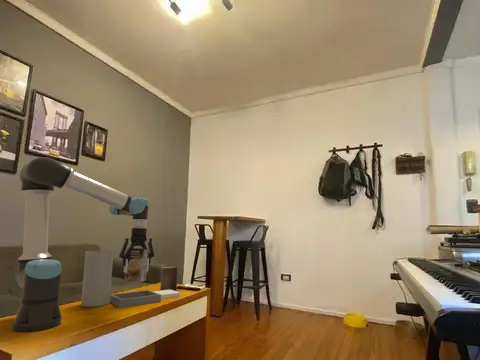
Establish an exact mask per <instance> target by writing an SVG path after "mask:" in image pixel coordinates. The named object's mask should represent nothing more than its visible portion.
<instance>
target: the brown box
mask: <svg viewBox="0 0 480 360" xmlns="http://www.w3.org/2000/svg"><path fill="white" fill-rule="evenodd" d="M177 285H178V266H176V265H175V266H170V264H169V265H168V266H161V267H160V286H159V287H160V288H159V289H160V290H159V291H161V290H173V291H177V288H178V287H177Z"/></svg>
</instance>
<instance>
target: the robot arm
mask: <svg viewBox="0 0 480 360" xmlns="http://www.w3.org/2000/svg"><path fill="white" fill-rule="evenodd" d="M19 179H20V182H21V188H20V189H21V193H22V194H24V196H25V197H24V198H25V200H24V201H25V202H24V220H23V221H24V223H23V242H22V244H23V245H22V246H23V247H22V255H20V256H19V257H18V258H17V270H16V271H15V275H14V277H15V278H14V279H15V283H16V285H17V286H18V287H19V288H21V290H22V292H21V293H22V294H21V301H20V303H21V304H20V307H19V309H18V311H17V313H16V315H15V318H14V320H13V323H12V328H11V329H12V331H15V332H25V333H26V332H34V331H35V332H36V331H43V330H47V329H51V328H54V327H56V326H57V327H58V326H59V325H61V324H62V314H61V310H60V306H59V293H60V284H61V283H60V282H61V274H62V262H61V261H59V260H57V259H53V257H52V254H50V253H49V249H48V248H49V228H50V227H49V225H50V224H49V223H50V221H49V220H50V219H49V218H50V197H51V195H52V194H53V193H54V192H55V187H56V188H59V189H67V190H71V192H75V193H77V194H80V195H83V196H86V197H88V198H91V199H92V200H96V201H98V202H100V203H102V204H105V205H108V212H109V213H110V215H112V216H113V215H114V216H128V217H132V219H131V221H132V222H131V233H130V237H129V238H127V237H125V238H124V240H123V241H124V242H123V245H122V247H121V250H120V253H119V255H118V257H119V258H121V259H122V262H121V263H122V267H123V273H124V274H125V273H127V266H128V259H127V257H128V255H129V254H130V252H131V251H132V249H133V248H136V247H140V248H144V249H148V259H147V272H149V266H150V265H151V261H152V258H154V257H155V251H154V248H153V243H152V242H153V239H152V237H151V238H148V237H147V231H148V229H147V227H148V217H149V216H148V215H149V199H148V198H145V197H133V196H131V195H129V194H126V193H123V192H122V191H119V190H117V189H115V188H112V187H110V186H109V185H106V184H104V183H101V182H99V181H97V180H94V179H92V178H90V177H87V176H86V175H83V174H81V173H78V172H76V171H75V170H74V169H73V167H72V166H69V165H67V164H64V163H62V162H60V161H58V160H55V159H53V158H50V157H44V156H41V157H40V156H39V157H36V158H33V159H32V160H30V161H29V162H28V163H26V164H25V165H23V167H22V169H21V170H20V174H19ZM129 242H131V243H130V244H129ZM146 242H147V246H148V248H147V246H146ZM128 245H129V247H128ZM126 249H128V250H126Z"/></svg>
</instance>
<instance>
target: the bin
mask: <svg viewBox="0 0 480 360" xmlns="http://www.w3.org/2000/svg"><path fill="white" fill-rule="evenodd" d="M161 300H162V299H161V294H158V293H155V292H153V290H149V289H148V290H147V289H145V290H138V291H129V292H128V291H127V292H121V293H113V294H111V293H110V302H109V303H110V304H113V306H116V307H118V308H120V309H121V308H128V307H134V306H140V305H141V306H142V305H148V304H155V303H161Z"/></svg>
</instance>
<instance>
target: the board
mask: <svg viewBox="0 0 480 360" xmlns="http://www.w3.org/2000/svg"><path fill="white" fill-rule="evenodd" d="M152 292H155V293H158V294H161V300H163V299H170V298H178V297H181V292H180V291H177V290H176V291H173V290H161V291H160V290H156V291H153V290H152Z"/></svg>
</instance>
